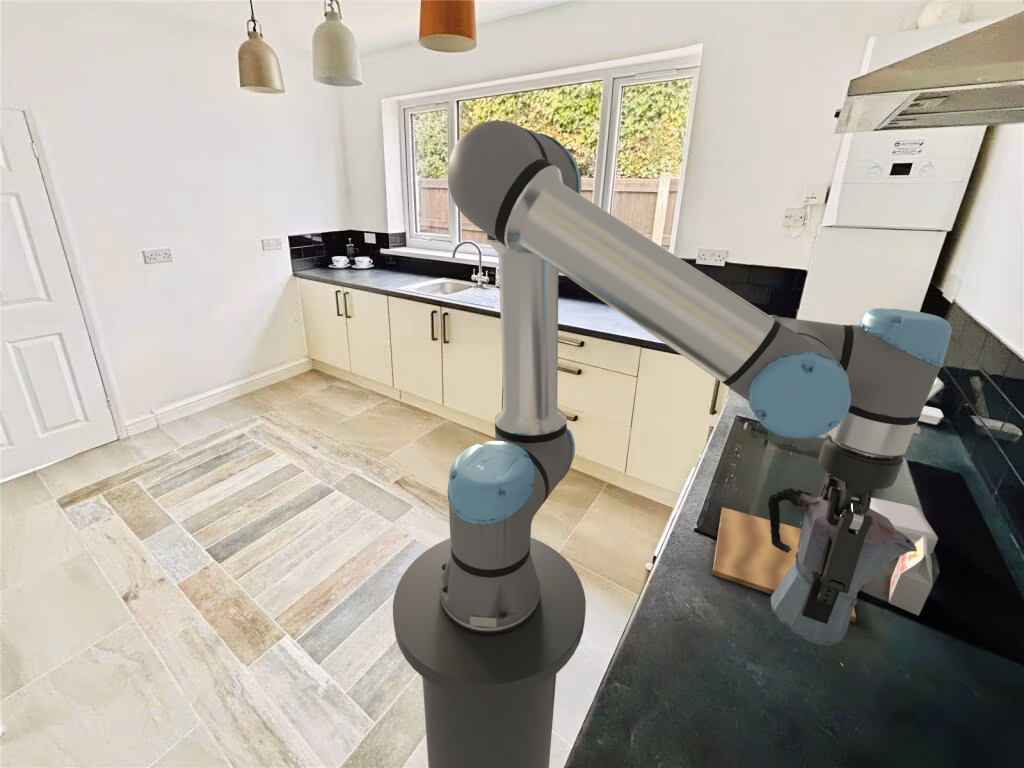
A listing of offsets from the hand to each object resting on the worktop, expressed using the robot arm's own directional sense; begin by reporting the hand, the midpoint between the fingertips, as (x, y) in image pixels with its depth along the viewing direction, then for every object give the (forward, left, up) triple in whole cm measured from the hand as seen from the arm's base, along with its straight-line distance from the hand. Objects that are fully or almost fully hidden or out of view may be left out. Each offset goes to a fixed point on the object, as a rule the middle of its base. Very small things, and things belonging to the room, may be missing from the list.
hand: (811, 593), depth 61 cm
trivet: (-2, +19, -10) cm, 21 cm away
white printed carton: (+16, +19, -10) cm, 27 cm away
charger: (+18, +34, -10) cm, 40 cm away
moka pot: (0, 0, -4) cm, 4 cm away
